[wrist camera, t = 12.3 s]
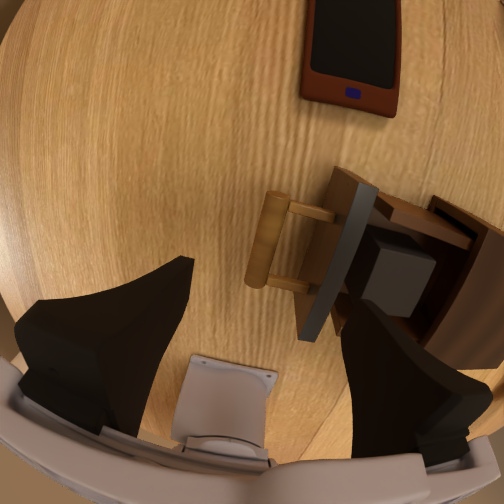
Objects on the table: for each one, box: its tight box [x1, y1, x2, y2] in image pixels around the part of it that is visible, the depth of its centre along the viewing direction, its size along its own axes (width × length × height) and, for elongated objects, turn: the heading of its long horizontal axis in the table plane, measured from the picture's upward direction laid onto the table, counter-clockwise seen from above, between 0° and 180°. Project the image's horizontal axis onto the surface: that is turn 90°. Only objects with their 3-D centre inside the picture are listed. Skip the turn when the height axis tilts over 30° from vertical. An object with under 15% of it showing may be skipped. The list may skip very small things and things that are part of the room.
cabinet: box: [419, 195, 504, 370], centre depth 18 cm, size 14×12×8 cm
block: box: [344, 224, 436, 318], centre depth 17 cm, size 4×4×4 cm
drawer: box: [244, 166, 477, 344], centre depth 18 cm, size 17×10×6 cm, turn 77°
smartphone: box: [300, 0, 402, 118], centre depth 13 cm, size 7×1×15 cm
